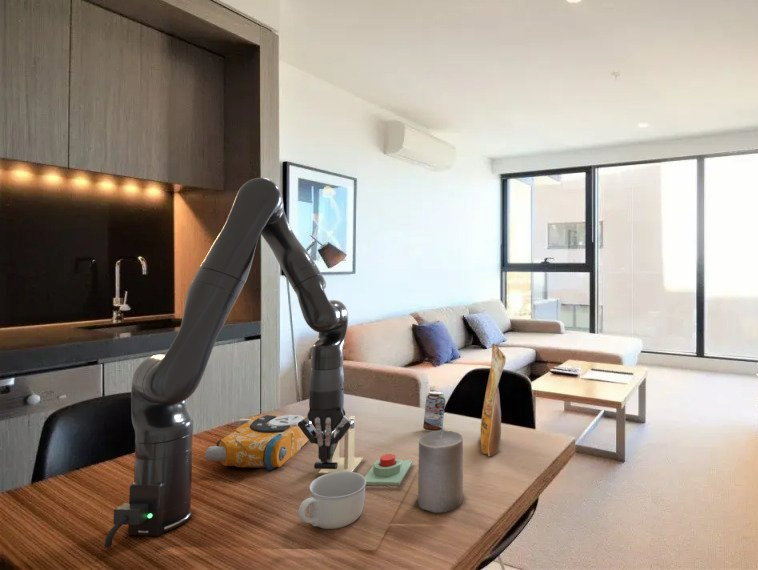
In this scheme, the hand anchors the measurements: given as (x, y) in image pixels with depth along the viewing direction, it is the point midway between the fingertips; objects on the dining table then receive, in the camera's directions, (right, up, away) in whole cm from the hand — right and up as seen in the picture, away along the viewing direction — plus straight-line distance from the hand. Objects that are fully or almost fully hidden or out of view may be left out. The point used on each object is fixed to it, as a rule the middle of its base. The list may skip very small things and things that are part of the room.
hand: (325, 460), depth 106 cm
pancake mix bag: (+38, -7, +25) cm, 46 cm away
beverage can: (+19, -7, +36) cm, 42 cm away
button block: (+13, -6, +4) cm, 15 cm away
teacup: (+8, -6, -16) cm, 19 cm away
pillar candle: (+28, -6, -7) cm, 29 cm away
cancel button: (+13, -3, +5) cm, 14 cm away
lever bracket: (0, -6, +9) cm, 11 cm away
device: (-25, -7, +20) cm, 33 cm away
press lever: (0, +1, +6) cm, 6 cm away
